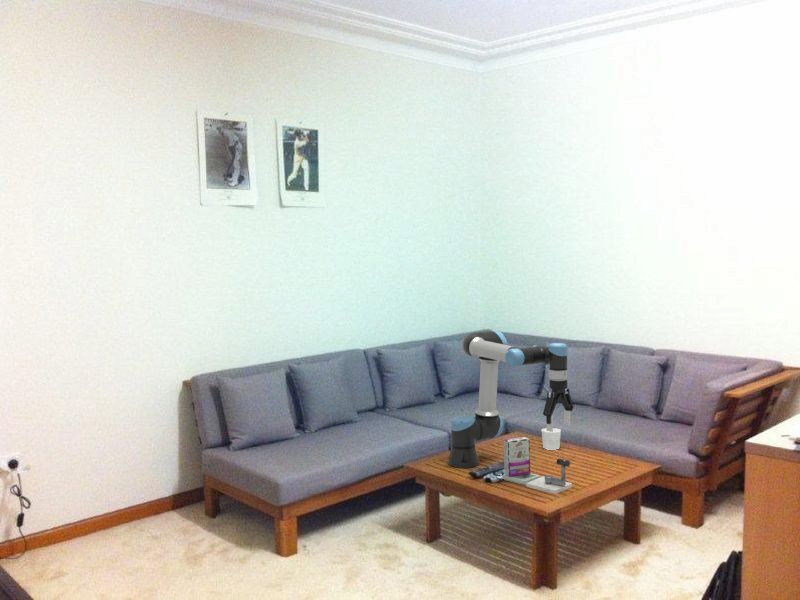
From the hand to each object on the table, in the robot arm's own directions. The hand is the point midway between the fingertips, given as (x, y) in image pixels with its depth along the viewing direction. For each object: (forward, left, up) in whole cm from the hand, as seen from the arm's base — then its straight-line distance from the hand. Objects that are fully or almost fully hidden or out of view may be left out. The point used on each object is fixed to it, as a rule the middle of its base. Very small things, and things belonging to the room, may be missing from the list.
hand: (558, 428), depth 311 cm
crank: (-1, 0, -25) cm, 25 cm away
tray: (-22, 0, -27) cm, 35 cm away
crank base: (-5, 0, -27) cm, 27 cm away
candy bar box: (-22, 0, -25) cm, 33 cm away
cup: (-38, +53, -27) cm, 71 cm away
